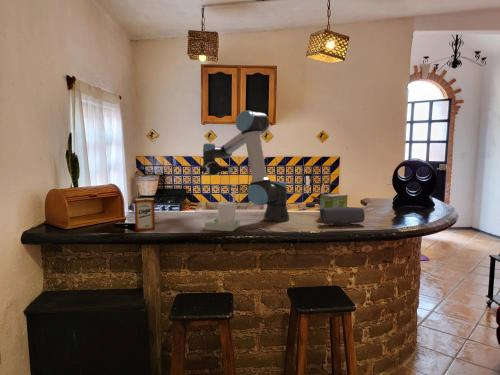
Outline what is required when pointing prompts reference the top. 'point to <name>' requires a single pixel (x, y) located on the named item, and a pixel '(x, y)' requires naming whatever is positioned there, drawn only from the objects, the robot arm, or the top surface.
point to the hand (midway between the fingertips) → (220, 170)
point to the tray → (221, 225)
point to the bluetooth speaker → (342, 215)
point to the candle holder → (226, 212)
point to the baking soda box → (144, 214)
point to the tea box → (332, 201)
